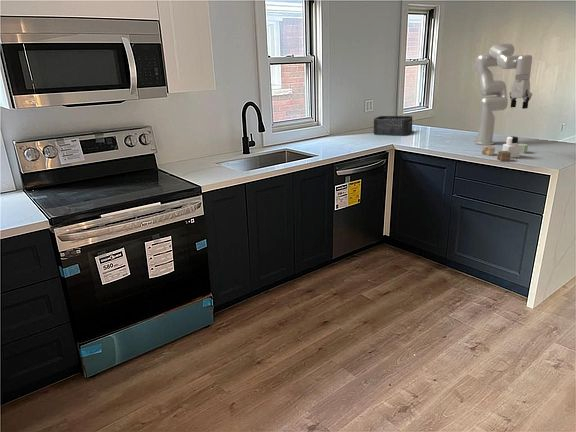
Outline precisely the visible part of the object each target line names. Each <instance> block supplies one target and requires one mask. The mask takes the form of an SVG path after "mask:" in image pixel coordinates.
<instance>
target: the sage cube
mask: <svg viewBox="0 0 576 432" xmlns="http://www.w3.org/2000/svg"><path fill="white" fill-rule="evenodd" d="M517 145H520V153H519V154H526V153H528V149H529V144H527V143H518V144H517Z"/></svg>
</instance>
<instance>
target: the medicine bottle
mask: <svg viewBox="0 0 576 432" xmlns="http://www.w3.org/2000/svg"><path fill="white" fill-rule="evenodd" d="M518 142H519V137H518V136H512V135H511V136H507V137H506V143H503V144H502V150H501V151H508V152H511V155H510V159H511V158H512V159H513V158H515V159H516V157H517V158H520V154H521V153H520V145H517V144H519V143H518Z"/></svg>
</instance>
